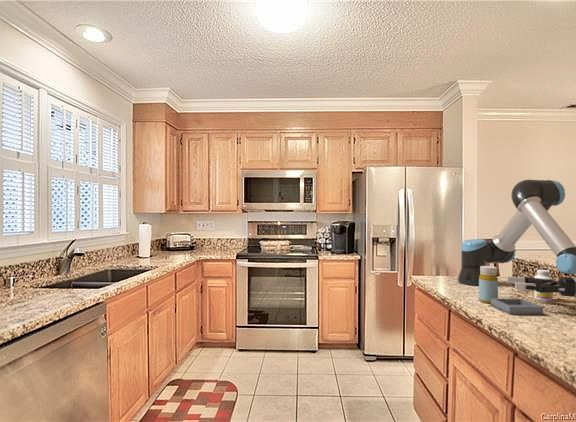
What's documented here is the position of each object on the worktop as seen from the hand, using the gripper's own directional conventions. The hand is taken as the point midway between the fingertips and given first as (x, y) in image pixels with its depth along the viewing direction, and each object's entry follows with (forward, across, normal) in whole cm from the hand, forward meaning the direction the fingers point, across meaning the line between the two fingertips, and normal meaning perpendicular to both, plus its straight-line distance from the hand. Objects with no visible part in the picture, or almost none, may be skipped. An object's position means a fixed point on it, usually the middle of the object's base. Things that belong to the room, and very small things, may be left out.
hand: (511, 282), depth 146 cm
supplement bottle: (-15, +14, -9) cm, 23 cm away
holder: (0, -10, -9) cm, 13 cm away
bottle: (+8, 0, -9) cm, 12 cm away
